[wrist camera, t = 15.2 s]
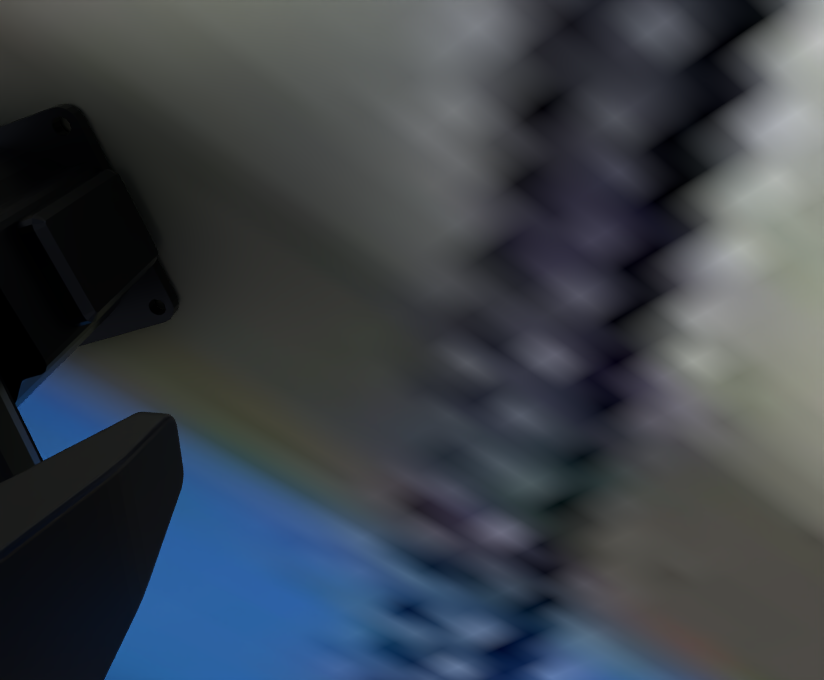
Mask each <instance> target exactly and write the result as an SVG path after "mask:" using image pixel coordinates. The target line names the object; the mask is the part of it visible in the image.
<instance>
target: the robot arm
mask: <svg viewBox="0 0 824 680" xmlns="http://www.w3.org/2000/svg"><path fill="white" fill-rule="evenodd" d="M60 117H63V118H65V119H67V120H68V122H69V123H70V126H71V131H70V132H67V131H65V130H64V129H63V128H62V126H61V124H60ZM157 256H158V251H157V249H156V247H155V245H154V243H153V241H152V239H151V237H150V235H149V233H148V231H147V229H146V227H145V225H144V223H143V221H142V219H141V217H140V215H139V213H138V211H137V210H136V208H135V206H134V204H133V202H132V200H131V198H130V196H129V194H128V192H127V190H126V188H125V186H124V184H123V182H122V180H121V178H120V176H119V175H118V174H117V173H115V172H113V171H112V169H111V167H110V165H109V164H108V162H107V160H106V158H105V156H104V154H103V152H102V150H101V148H100V146H99V144H98V142H97V140H96V138H95V136H94V134H93V132H92V130H91V128H90V126H89V125H88V123H87V121H86V119H85V117H84V115H83V114H82V113H81V111H80V110H78V109H77V108H76V107H74V106H72V105H69V104H61V105H57V106H55V107H52V108H49V109H47V110H44V111H41V112H39V113H36V114H33V115H31V116H28V117H25V118H22V119H20V120H17V121H14V122H12V123H9V124H6V125H4V126H1V127H0V680H104V679H105V677H106V675H107V673H108V670H109V668H110V666H111V664H112V662H113V660H114V658H115V656H116V654H117V652H118V650H119V648H120V646H121V644H122V641H123V639H124V637H125V635H126V633H127V631H128V629H129V627H130V625H131V623H132V621H133V619H134V617H135V614H136V612H137V610H138V608H139V605H140V603H141V601H142V599H143V596H144V594H145V591H146V588H147V586H148V583H149V580H150V578H151V575H152V572H153V569H154V566H155V563H156V560H157V557H158V555H159V552H160V549H161V546H162V543H163V540H164V537H165V534H166V532H167V529H168V526H169V523H170V520H171V517H172V514H173V511H174V509H175V506H176V503H177V500H178V497H179V494H180V491H181V488H182V483H183V464H182V457H181V450H180V443H179V436H178V430H177V424H176V422H175V419H174V418H173V417H172V416H171V415H170V414H163V413H151V412H138V413H135V414H133V415H131V416H129V417H127V418H126V419H124V420H122V421H120V422H118V423H116V424H114V425H112V426H110V427H108V428H106V429H104V430H102V431H100V432H98V433H96V434H94V435H92V436H91V437H89V438H87V439H85V440H83V441H81V442H79V443H77V444H75V445H73V446H71V447H69V448H67V449H65V450H63V451H61V452H59V453H57V454H56V455H54V456H52V457H50V458H48V459H46V460H44V461H43V459H42V457H41V455H40V453H39V451H38V449H37V447H36V445H35V443H34V441H33V439H32V437H31V435H30V433H29V431H28V429H27V427H26V425H25V423H24V421H23V419H22V417H21V415H20V413H19V411H18V409H17V407H18V406H19V405H20V404H21V403H22V402H23V401H24V400H25V399H26V398H27V397H28V396H29V395H30V394H31V393H32V392H33V391H34V390H35V389H36V388H37V387H38V386H39V385H40V384H41V383H42V382H43V381H44V380H45V379H46V378H47V377H48V376H49V375H50V374H51V373H52V372H53V371H54V370H55V369H56V368H57V367H58V366H59V365H60V364H61V363H62V362H63V361H64V360H65V359H66V358H67V357H68V356H69V355H70V354H71V353H72V352H73V351H74V350H75V349H76V348H77V347H78V346H81V345H85V344H88V343H92V342H95V341H99V340H103V339H106V338H110V337H113V336H117V335H120V334H124V333H127V332H131V331H134V330H138V329H142V328H145V327H149V326H152V325H156V324H159V323H163V322H166V321H168V320H169V319H171V317H172V316H173V315H174V314H175V312H176V311H177V310H178V305H179V302H178V299H177V296H176V294H175V292H174V290H173V288H172V286H171V284H170V282H169V281H168V279H167V277H166V275H165V273H164V271H163V269H162V267H161V265H160V263H159V261H158V259H157ZM154 299H158V300H160V301H162V302H163V303H164V305H165V308H166V309H161V308H159V307H157V305H156V304H155V302H154Z"/></svg>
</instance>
